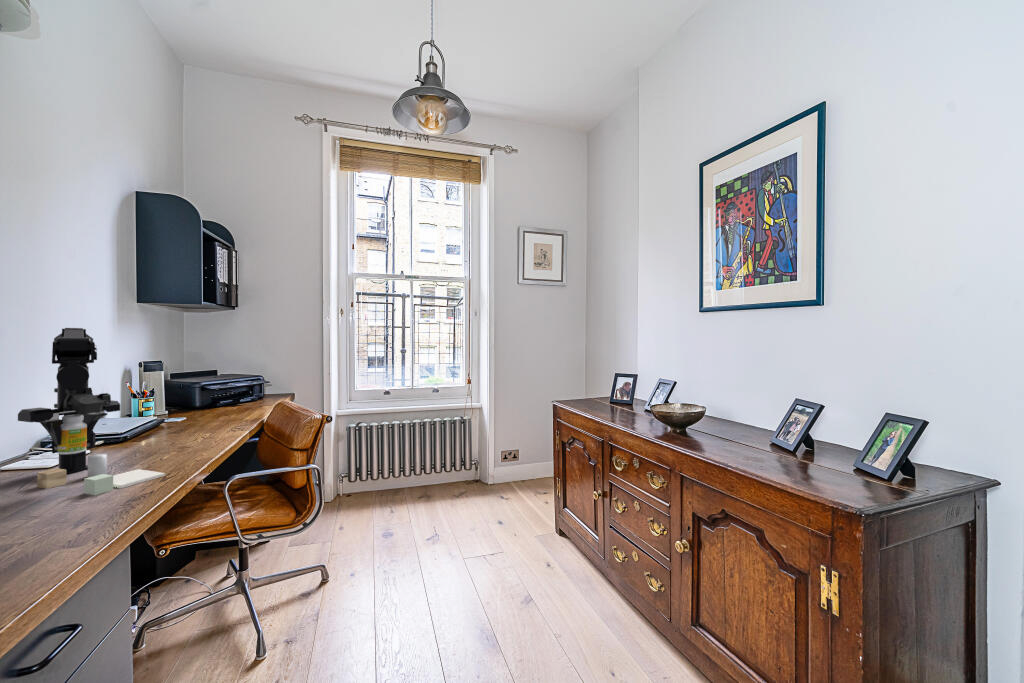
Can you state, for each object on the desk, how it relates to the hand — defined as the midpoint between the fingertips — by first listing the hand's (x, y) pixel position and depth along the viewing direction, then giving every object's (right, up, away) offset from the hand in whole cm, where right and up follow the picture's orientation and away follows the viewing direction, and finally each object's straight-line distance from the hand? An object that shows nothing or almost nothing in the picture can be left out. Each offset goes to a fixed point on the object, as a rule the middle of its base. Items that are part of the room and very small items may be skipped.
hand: (72, 442), depth 113 cm
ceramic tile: (+8, -13, +8) cm, 17 cm away
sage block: (+9, -13, -2) cm, 15 cm away
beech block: (-8, -12, +2) cm, 15 cm away
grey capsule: (-3, -12, +10) cm, 16 cm away
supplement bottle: (0, -3, 0) cm, 3 cm away
